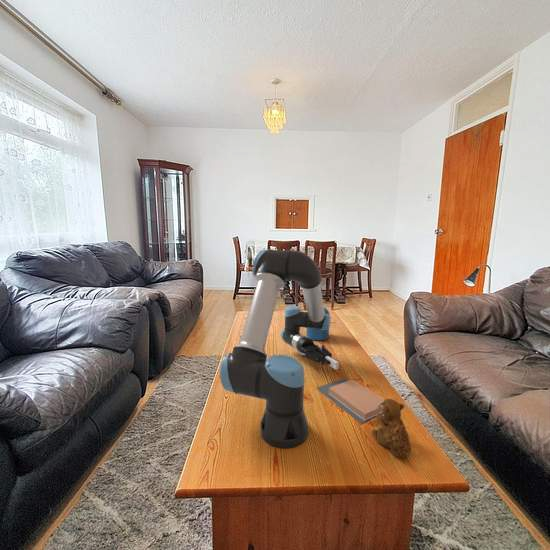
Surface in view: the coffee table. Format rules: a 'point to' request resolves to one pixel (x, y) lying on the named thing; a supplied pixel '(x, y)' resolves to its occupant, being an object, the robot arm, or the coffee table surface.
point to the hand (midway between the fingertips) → (337, 365)
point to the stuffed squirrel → (392, 429)
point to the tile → (357, 399)
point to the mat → (325, 391)
